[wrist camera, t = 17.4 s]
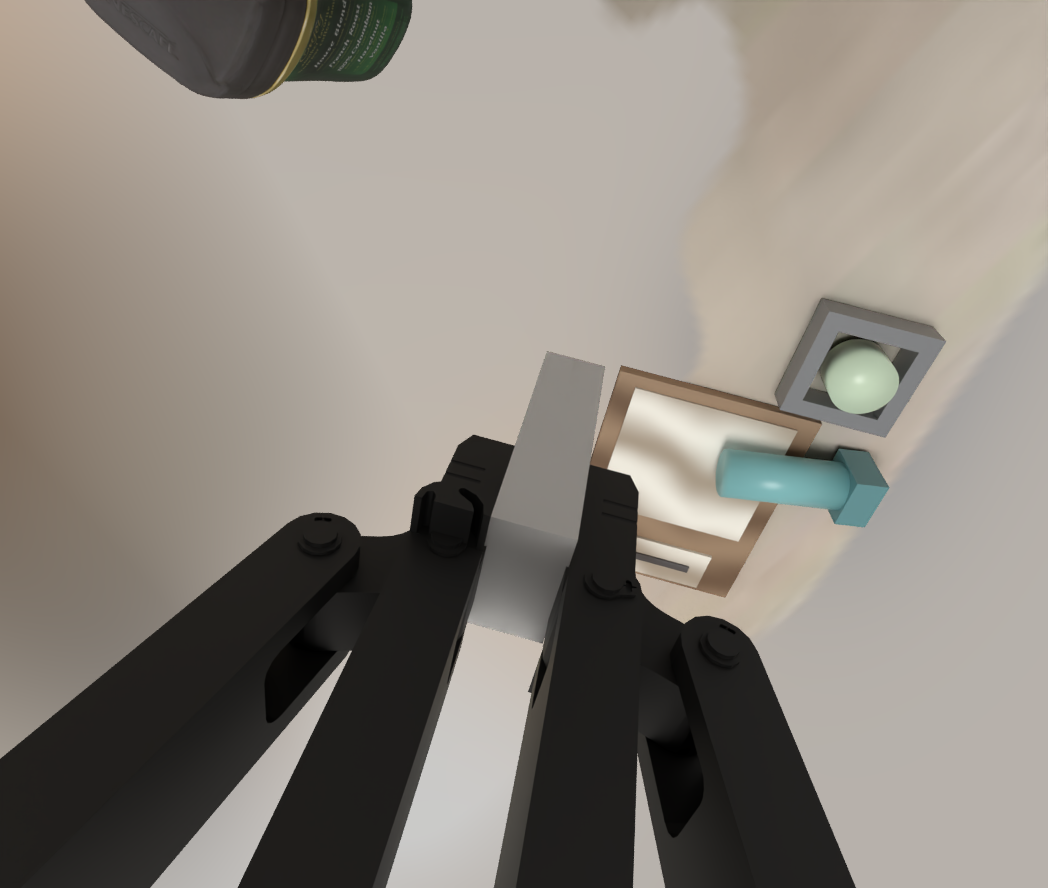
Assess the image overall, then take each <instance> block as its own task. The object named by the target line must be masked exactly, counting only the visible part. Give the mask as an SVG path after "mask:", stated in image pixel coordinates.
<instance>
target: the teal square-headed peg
mask: <svg viewBox="0 0 1048 888" xmlns="http://www.w3.org/2000/svg"><path fill="white" fill-rule="evenodd" d="M715 481H716V490H717V493H718V495H719V496H720V497H726V498H734V499H743V500H752V501H760V502H769V503H777V504H786V505H795V506H803V507H812V508H821V509H828V511H829V513H830V515H831V517H832V519H833V522H834V524H840V525H849V526H857V527H865V526H866V524H867V523H868V521H869V520H870V518H871V516H872V515H873V513H874V512H875V510H876V508H877V507H878V505H879V504H880V502H881V500H882V499H883V497H884V496H885V494H886V492H887V491H888V489H889V486H888V485H887V483H886V481H885V480H884V478H883V476H882V474H881V473H880V471H879V469H878V468H877V466H876V464H875V462H874V461H873V459H872V457H871V456H870V454H869V452H863V451H855V450H846V449H838V451H837V453H836V455H835V457H834V459H833V461H827V460H819V459H810V458H802V457H793V456H785V455H776V454H768V453H759V452H751V451H743V450H734V449H724V450H723V451H722V453H721V455H720V457H719V460H718V463H717V468H716V480H715Z"/></svg>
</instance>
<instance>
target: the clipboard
mask: <svg viewBox="0 0 1048 888" xmlns="http://www.w3.org/2000/svg"><path fill="white" fill-rule="evenodd" d="M821 425H822V423H821V421H820V420H816V419H813V418H809V417H805V416H801V415H798V414H794V413H790V412H786V411H782V410H780V409H779V407H777V406H773V405H769V404H765V403H762V402H758V401H754V400H750V399H746V398H743V397H739V396H735V395H731V394H728V393H724V392H720V391H716V390H712V389H709V388H705V387H701V386H697V385H693V384H690V383H686V382H682V381H678V380H675V379H671V378H667V377H663V376H659V375H656V374H652V373H648V372H644V371H640V370H637V369H633V368H629V367H625V366H621V367H620V371H619V374H618V377H617V380H616V383H615V387H614V389H613V392H612V395H611V398H610V401H609V405H608V407H607V411H606V414H605V417H604V420H603V423H602V426H601V429H600V432H599V435H598V438H597V441H596V444H595V448H594V451H593V454H592V457H591V460H590V465H594V466H597V467H601V468H605V469H609V470H612V471H616V472H620V473H623V474H627V475H630V476H631V478H632V480H633V482H634V484H635V486H636V488H637V490H638V492H639V499H638V511H637V512H638V522H637V545H636V568H635V573H637V574H641V575H644V576H648V577H652V578H656V579H659V580H663V581H666V582H670V583H674V584H677V585H681V586H685V587H688V588H692V589H695V590H699V591H703V592H706V593H710V594H714V595H717V596H721V597H726V595H727V594H728V592H729V590H730V588H731V586H732V585H733V583H734V581H735V579H736V577H737V576H738V574H739V572H740V570H741V568H742V567H743V565H744V563H745V561H746V559H747V558H748V556H749V554H750V552H751V551H752V549H753V547H754V545H755V543H756V542H757V540H758V538H759V536H760V534H761V533H762V531H763V529H764V527H765V525H766V524H767V522H768V520H769V518H770V517H771V515H772V513H773V511H774V509H775V508H776V506H777V503H769V502H760V501H752V500H743V499H734V498H726V497H720V496H719V495H718V493H717V490H716V481H715V480H716V468H717V463H718V460H719V457H720V455H721V453H722V451H723V450H724V449H734V450H743V451H751V452H759V453H768V454H776V455H785V456H793V457H802V458H803V457H804V456H805V454H806V452H807V450H808V448H809V447H810V445H811V443H812V441H813V440H814V438H815V436H816V434H817V432H818V431H819V429H820V427H821Z"/></svg>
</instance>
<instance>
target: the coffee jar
mask: <svg viewBox="0 0 1048 888" xmlns="http://www.w3.org/2000/svg"><path fill="white" fill-rule="evenodd" d="M85 1H86V3H87V4H88V5H89V6H90V7H91V9H92V10H93V11H94V12H95V13H96V14H97V15H98V16H99V17H100V18H101V19H102V20H103V21H105V23H107V24H108V25H109V26H110V27H111V28H112V29H113V30H114V31H116V32H117V33H118V34H119V35H120V36H121V37H122V38H124V39H125V40H126V41H127V42H128V43H129V44H130V45H132V46H133V47H134V48H135V49H136V50H138V51H139V52H140V53H141V54H143V55H144V56H145V57H146V58H147V59H149V60H150V61H151V62H152V63H154V64H155V65H156V66H158V67H159V68H160V69H162V70H163V71H164V72H166V73H167V74H168V75H170V76H171V77H173V78H174V79H175V80H176V81H177V82H179V83H180V84H181V85H184V86H185V87H186V88H188V89H189V90H191V91H193V92H195V93H197V94H200V95H203V96H207V97H212V98H229V99H230V98H231V99H233V98H235V99H248V98H256V97H260V96H262V95H265V94H268V93H270V92H271V91H273V90H275V89H276V88H277V87H279V86H280V85H281V84H282V83H283V82H284V81H335V82H354V81H365V80H368V79H371V78H373V77H375V76H377V75H378V74H379V73H380V72H381V71H382V70H383V69H384V68H385V67H386V66H387V64H388V63H389V62H390V60H391V59H392V57H393V55H394V54H395V52H396V50H397V49H398V47H399V45H400V43H401V41H402V40H403V37H404V35H405V33H406V30H407V28H408V24H409V22H410V19H411V13H412V0H85Z"/></svg>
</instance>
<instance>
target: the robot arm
mask: <svg viewBox="0 0 1048 888" xmlns="http://www.w3.org/2000/svg"><path fill="white" fill-rule="evenodd" d="M604 370H605V366H602V365H598V364H594V363H590V362H586V361H583V360H579V359H575V358H571V357H568V356H564V355H559V354H556V353H552V352H549V351H547V353H546V356H545V359H544V362H543V365H542V368H541V370H540V373H539V376H538V379H537V382H536V385H535V388H534V391H533V394H532V397H531V400H530V403H529V406H528V409H527V412H526V415H525V418H524V421H523V423H522V427H521V430H520V433H519V435H518V439H517V442H516V444H515V446H513V445H510V444H506V443H502V442H499V441H495V440H491V439H488V438H484V437H480V436H477V435H472V436H471V437H469V438H468V439H467V440H465V441H464V442H462V443H461V444H459V445H458V447H457V449H456V451H455V453H454V455H453V458H452V460H451V462H450V464H449V466H448V468H447V470H446V473H445V475H444V477H443V479H442V481H441V482H433V483H431V484H429V485H427V486H424V487H422V488H421V489H420V490H419V491H418V493H417V494H416V495H415V497H414V504H413V512H412V519H411V526H410V530H409V531H407V532H405V533H403V534H398V535H394V536H383V537H374V536H361V534H360V533H359V531H358V529H357V527H356V526H355V525H354V524H353V523H352V522H350V521H349V520H348V519H346V518H345V517H342V516H338V515H335V514H332V513H312V514H308V515H303V516H300V517H298V518H296V519H294V520H293V521H291V522H289V523H288V524H286V525H285V526H284V527H283V528H281V529H280V530H279V531H278V532H277V533H276V534H274V535H273V536H272V537H271V538H269V539H268V540H267V541H266V542H264V543H263V544H262V545H261V546H259V548H257V549H256V550H255V551H253V552H252V553H251V554H250V555H248V556H247V557H246V558H245V559H244V560H242V561H241V562H240V563H239V564H237V565H236V566H235V567H234V568H233V569H231V571H229V572H228V573H227V574H225V575H224V576H223V577H222V578H220V580H218V581H217V582H216V583H214V584H213V585H212V586H211V587H210V588H208V589H207V590H206V591H205V592H203V593H202V594H201V595H200V596H198V597H197V598H196V599H195V600H194V601H192V602H191V603H190V604H189V605H187V606H186V607H185V608H184V609H183V610H181V611H180V612H179V613H178V614H176V615H175V616H174V617H173V618H172V619H170V620H169V621H168V622H167V623H165V624H164V625H163V626H162V627H161V628H159V630H157V631H156V632H155V633H153V634H152V635H151V636H150V637H148V638H147V639H146V640H145V641H144V642H142V643H141V644H140V645H139V646H137V647H136V648H135V649H134V650H133V651H131V652H130V653H129V654H128V655H126V656H125V657H124V658H123V659H122V660H121V661H119V662H118V663H117V664H115V665H114V666H113V667H112V668H111V669H109V670H108V671H107V672H106V673H104V674H103V675H102V676H101V677H100V678H99V679H97V680H96V681H95V682H94V683H92V684H91V685H90V686H89V687H88V688H86V689H85V690H84V691H83V692H81V693H80V694H79V695H78V696H76V697H75V698H74V699H73V700H71V701H70V702H69V703H68V704H67V705H65V706H64V707H63V708H62V709H61V710H59V711H58V712H57V713H56V714H55V715H53V716H52V717H51V718H50V719H48V720H47V721H46V722H45V723H43V724H42V725H41V726H40V727H39V728H37V729H36V730H35V731H34V732H32V733H31V734H30V735H29V736H28V737H26V738H25V739H24V740H23V741H21V742H20V743H19V744H18V745H17V746H15V747H14V748H13V749H12V750H10V751H9V752H8V753H7V754H6V755H4V756H3V757H2V758H1V759H0V888H150V887H151V886H152V885H153V884H154V882H155V881H156V880H157V879H158V878H159V877H160V875H161V874H162V873H163V872H164V871H165V870H166V868H167V867H168V866H169V865H170V864H171V862H172V861H173V860H174V859H175V858H176V856H177V855H178V854H179V853H180V852H181V851H182V849H183V848H184V847H185V846H186V845H187V844H188V842H189V841H190V840H191V839H192V838H193V836H194V835H195V834H196V833H197V832H198V831H199V829H200V828H201V827H202V826H203V825H204V823H205V822H206V821H207V820H208V819H209V818H210V816H211V815H212V814H213V813H214V812H215V810H216V809H217V808H218V807H219V806H220V805H221V803H222V802H223V801H224V800H225V799H226V797H227V796H228V795H229V794H230V793H231V792H232V790H233V789H234V788H235V787H236V786H237V784H238V783H239V782H240V781H241V780H242V779H243V777H244V776H245V775H246V774H247V773H248V771H249V770H250V769H251V768H252V767H253V765H254V764H255V763H256V762H257V761H258V760H259V758H260V757H261V756H262V755H263V754H264V753H265V751H266V750H267V749H268V748H269V747H270V745H271V744H272V743H273V742H274V741H275V739H276V738H277V737H278V736H279V735H280V734H281V732H282V731H283V730H284V729H285V728H286V727H287V725H288V724H289V723H290V722H291V721H292V720H293V718H294V717H295V716H296V715H297V714H298V712H299V711H300V710H301V709H302V707H304V705H305V704H306V703H307V702H308V700H309V699H310V698H311V697H312V696H313V695H314V694H315V692H316V691H317V690H318V689H319V688H320V686H321V685H322V684H323V683H324V682H325V680H326V679H327V678H328V677H329V676H330V675H331V673H332V672H333V671H334V670H335V669H336V667H337V666H338V665H339V664H340V663H341V662H342V660H343V659H344V658H345V657H346V656H347V654H348V652H349V651H352V652H351V654H350V656H349V658H348V660H347V663H346V664H345V667H344V669H343V671H342V673H341V675H340V677H339V679H338V681H337V683H336V685H335V687H334V689H333V691H332V693H331V696H330V698H329V700H328V702H327V704H326V706H325V708H324V710H323V712H322V714H321V716H320V718H319V721H318V722H317V725H316V727H315V729H314V731H313V733H312V735H311V737H310V739H309V741H308V743H307V745H306V748H305V749H304V751H303V754H302V756H301V758H300V760H299V762H298V764H297V766H296V768H295V770H294V772H293V774H292V776H291V779H290V781H289V783H288V785H287V787H286V789H285V791H284V793H283V795H282V797H281V799H280V801H279V803H278V805H277V807H276V809H275V811H274V813H273V816H272V818H271V820H270V822H269V824H268V826H267V828H266V830H265V832H264V834H263V836H262V838H261V840H260V842H259V845H258V847H257V849H256V851H255V853H254V855H253V857H252V859H251V861H250V863H249V865H248V867H247V869H246V871H245V873H244V876H243V878H242V880H241V882H240V884H239V886H238V888H386V885H387V881H388V878H389V875H390V872H391V869H392V865H393V862H394V859H395V855H396V853H397V849H398V846H399V843H400V840H401V837H402V834H403V830H404V827H405V824H406V821H407V817H408V814H409V811H410V808H411V805H412V802H413V798H414V795H415V791H416V789H417V786H418V782H419V779H420V776H421V773H422V769H423V766H424V763H425V760H426V757H427V754H428V750H429V747H430V744H431V741H432V737H433V734H434V731H435V728H436V725H437V721H438V718H439V715H440V712H441V709H442V706H443V702H444V699H445V696H446V693H447V690H448V687H449V683H450V680H451V676H452V674H453V671H454V667H455V664H456V661H457V658H458V654H459V651H460V648H461V644H462V640H463V636H464V631H465V628H466V624H467V622H468V623H471V624H475V625H478V626H482V627H485V628H489V629H493V630H496V631H500V632H503V633H507V634H511V635H514V636H518V637H521V638H525V639H529V640H532V641H535V642H539V643H543V641H544V645H543V650H542V653H541V656H540V659H539V662H538V665H537V667H536V670H535V673H534V677H533V679H532V682H531V685H530V688H529V691H528V692H530V693H532V694H531V699H530V704H529V709H528V714H527V719H526V725H525V730H524V735H523V741H522V745H521V750H520V756H519V761H518V766H517V771H516V776H515V781H514V787H513V792H512V797H511V803H510V807H509V813H508V818H507V823H506V828H505V833H504V839H503V844H502V849H501V854H500V859H499V865H498V870H497V875H496V880H495V885H494V888H633V868H634V837H635V808H636V777H637V776H636V775H637V753H638V757H639V763H640V767H641V772H642V776H643V782H644V786H645V792H646V796H647V801H648V806H649V811H650V816H651V821H652V825H653V830H654V835H655V840H656V844H657V849H658V854H659V859H660V864H661V869H662V874H663V878H664V883H665V888H856V887H855V884H854V882H853V880H852V877H851V875H850V872H849V870H848V868H847V865H846V863H845V860H844V858H843V856H842V854H841V851H840V848H839V846H838V843H837V841H836V839H835V837H834V834H833V831H832V829H831V827H830V824H829V822H828V820H827V817H826V815H825V812H824V810H823V807H822V805H821V803H820V800H819V798H818V795H817V793H816V791H815V788H814V786H813V783H812V781H811V779H810V776H809V774H808V771H807V769H806V767H805V764H804V762H803V759H802V757H801V755H800V752H799V750H798V747H797V745H796V742H795V740H794V738H793V735H792V733H791V730H790V728H789V726H788V723H787V721H786V719H785V716H784V714H783V711H782V709H781V707H780V704H779V702H778V699H777V697H776V694H775V692H774V690H773V687H772V685H771V682H770V680H769V678H768V675H767V673H766V670H765V668H764V666H763V663H762V661H761V658H760V656H759V654H758V651H757V650H756V648H755V646H754V645H753V643H752V642H751V640H750V638H749V637H748V636H746V635H745V634H744V633H743V632H742V631H741V630H740V629H739V628H738V627H736V626H734V625H732V624H731V623H729V622H727V621H725V620H723V619H720V618H715V617H711V616H700V617H694V618H693V619H691V620H689V621H688V622H686V623H685V624H683V623H682V622H680V621H678V620H676V619H674V618H673V617H671V616H669V615H667V614H665V613H664V612H662V611H661V610H659V609H658V608H656V607H655V606H654V605H653V604H652V603H651V602H650V601H649V600H647V599H646V597H645V596H644V594H643V593H642V590H641V586H640V583H639V582H638V580H637V579H636V574H635V568H636V545H637V522H638V512H637V511H638V499H639V492H638V490H637V488H636V486H635V484H634V482H633V480H632V478H631V476H630V475H627V474H623V473H620V472H616V471H612V470H609V469H605V468H601V467H597V466H594V465H590V459H591V452H592V446H593V440H594V433H595V427H596V421H597V414H598V408H599V402H600V395H601V389H602V383H603V376H604ZM544 638H545V640H544Z"/></svg>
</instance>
